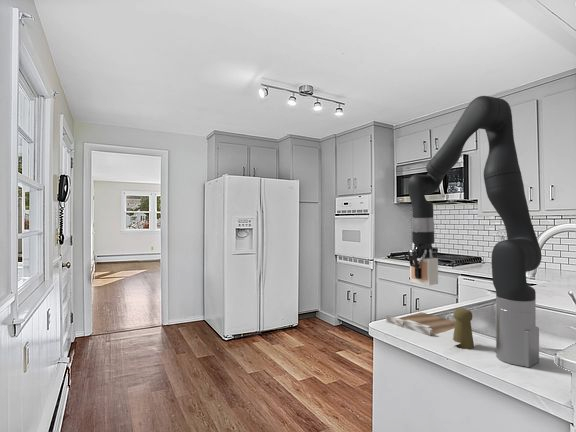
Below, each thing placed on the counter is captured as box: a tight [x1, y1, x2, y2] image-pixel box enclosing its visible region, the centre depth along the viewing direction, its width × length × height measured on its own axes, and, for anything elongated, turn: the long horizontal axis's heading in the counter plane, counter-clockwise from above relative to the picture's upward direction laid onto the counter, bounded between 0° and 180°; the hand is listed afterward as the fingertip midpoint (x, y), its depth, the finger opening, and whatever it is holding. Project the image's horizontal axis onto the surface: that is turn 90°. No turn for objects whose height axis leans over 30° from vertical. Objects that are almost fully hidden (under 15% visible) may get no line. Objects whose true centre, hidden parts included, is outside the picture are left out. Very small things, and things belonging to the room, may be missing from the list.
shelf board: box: [385, 311, 456, 337], centre depth 126 cm, size 18×20×4 cm
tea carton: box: [409, 257, 439, 286], centre depth 128 cm, size 8×5×9 cm, turn 32°
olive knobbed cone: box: [452, 308, 475, 350], centre depth 109 cm, size 6×6×11 cm
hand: (423, 277), depth 128 cm, fingers closed on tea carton, 5 cm apart
